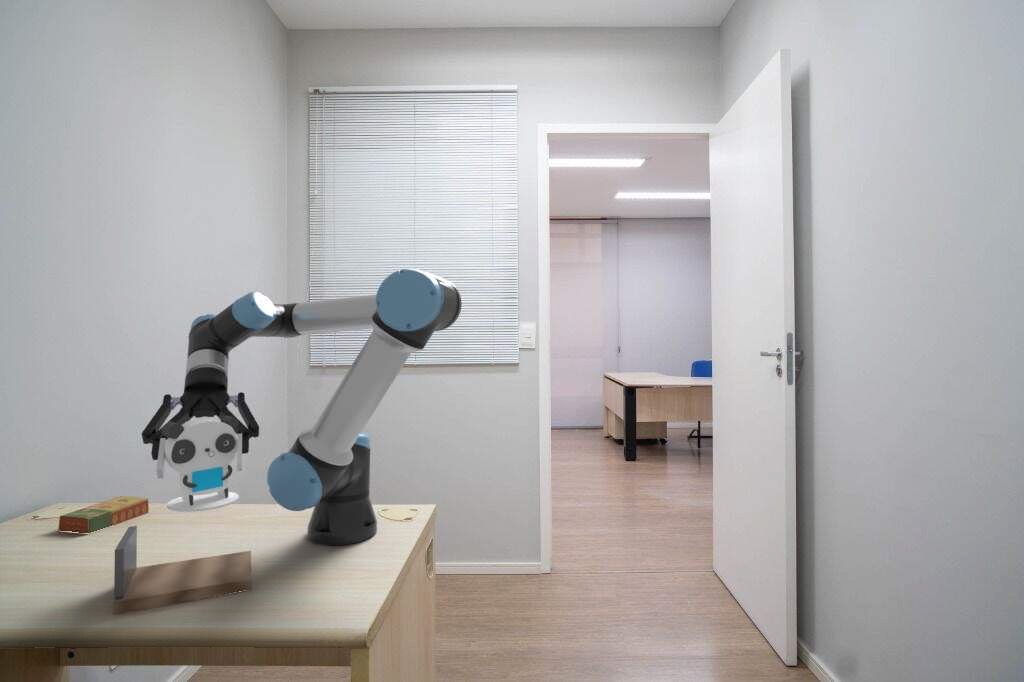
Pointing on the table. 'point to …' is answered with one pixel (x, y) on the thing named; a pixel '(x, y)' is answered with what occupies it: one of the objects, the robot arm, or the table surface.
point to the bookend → (125, 562)
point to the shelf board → (186, 581)
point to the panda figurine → (202, 462)
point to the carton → (104, 514)
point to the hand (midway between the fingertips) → (200, 470)
